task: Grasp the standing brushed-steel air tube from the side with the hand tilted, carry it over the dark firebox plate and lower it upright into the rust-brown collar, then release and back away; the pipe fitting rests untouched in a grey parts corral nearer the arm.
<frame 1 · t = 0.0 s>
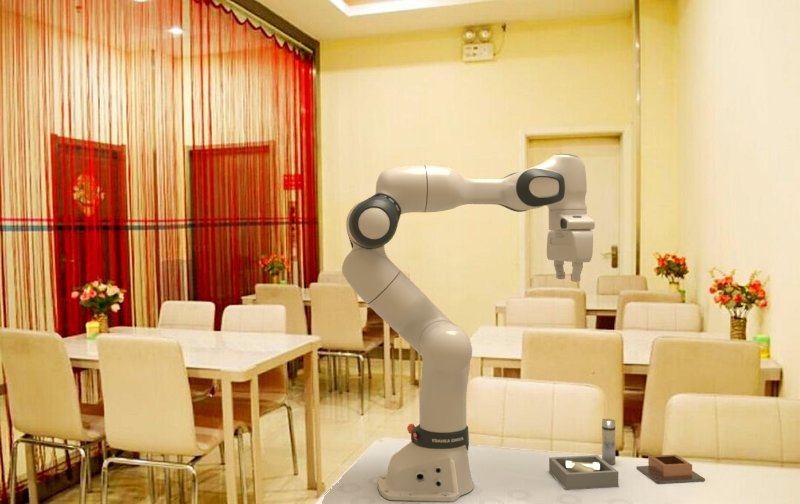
hand: (567, 280, 152), 48 cm above the table, tool pointing down, fingers open, 8 cm apart
pipe fitting: (582, 480, 152), on the table
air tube: (608, 462, 163), on the table
parts corral: (582, 478, 152), on the table
collar: (669, 474, 154), on the table
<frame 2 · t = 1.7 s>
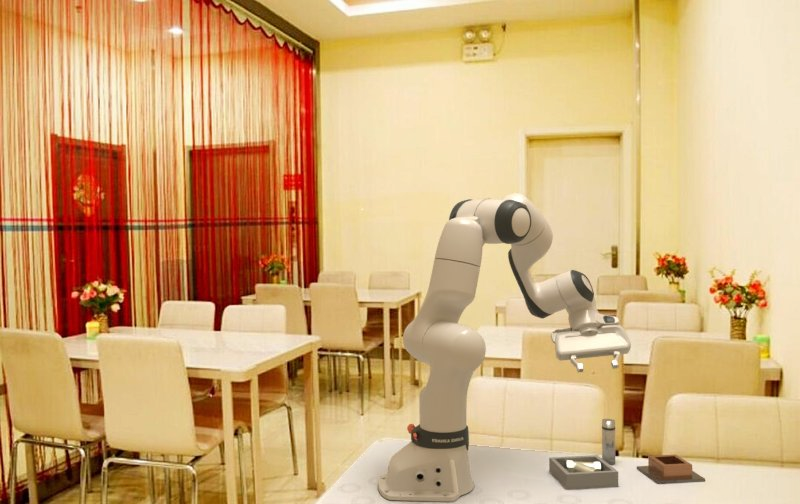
hand: (598, 369, 171), 22 cm above the table, tool tilted 40°, fingers open, 8 cm apart
nothing on the table moved.
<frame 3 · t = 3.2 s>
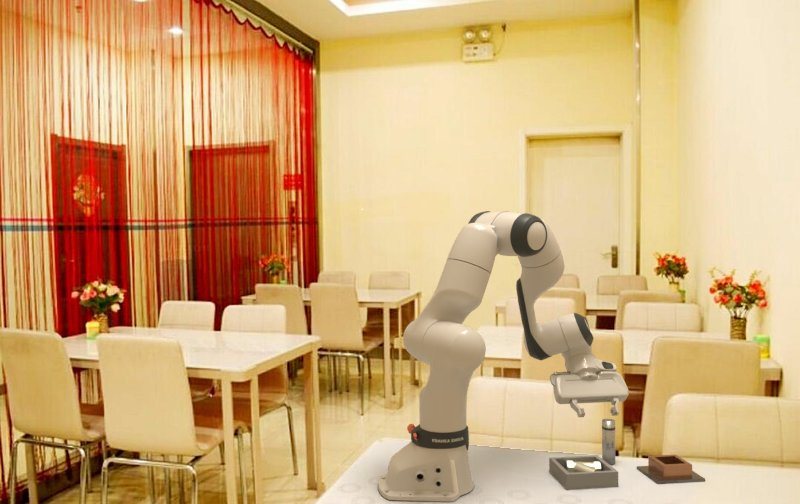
hand: (598, 415, 169), 11 cm above the table, tool tilted 45°, fingers open, 8 cm apart
nothing on the table moved.
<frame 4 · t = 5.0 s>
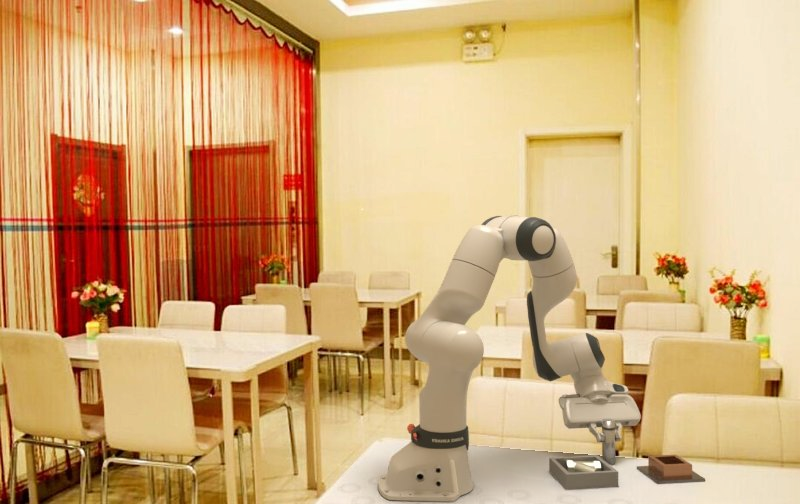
hand: (609, 440, 162), 6 cm above the table, tool tilted 45°, fingers closed on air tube, 3 cm apart
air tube: (608, 462, 163), on the table, touching gripper
everything else where it was.
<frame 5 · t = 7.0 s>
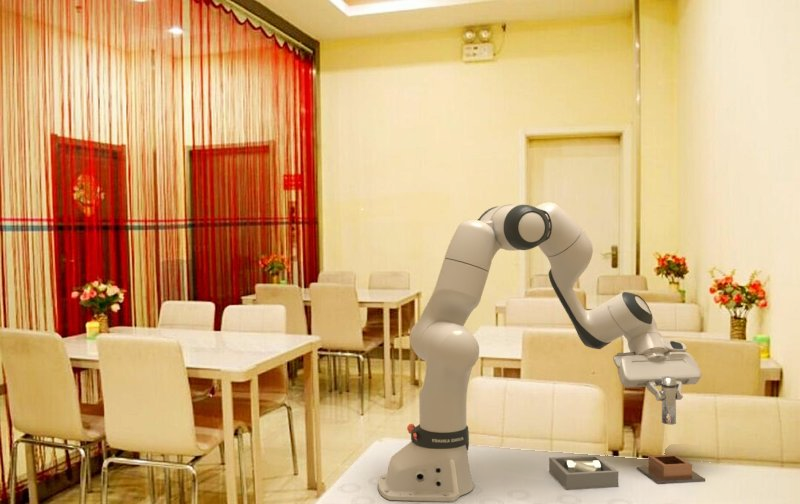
hand: (670, 399, 154), 19 cm above the table, tool tilted 45°, fingers closed on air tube, 3 cm apart
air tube: (668, 422, 154), point 13 cm above the table, touching gripper
when the fingers open (8 cm above the table, at t = 9.3 s): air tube drops 1 cm, resting on collar.
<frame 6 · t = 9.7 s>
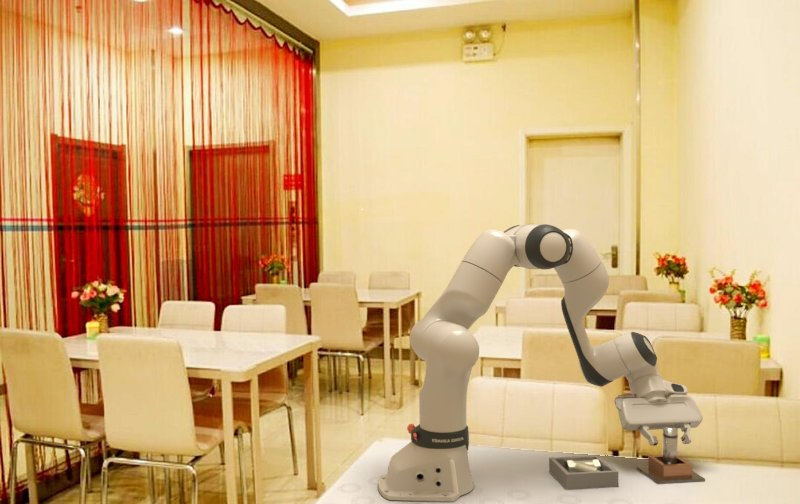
hand: (671, 443, 154), 8 cm above the table, tool tilted 45°, fingers open, 7 cm apart
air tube: (669, 472, 154), point 1 cm above the table, touching collar
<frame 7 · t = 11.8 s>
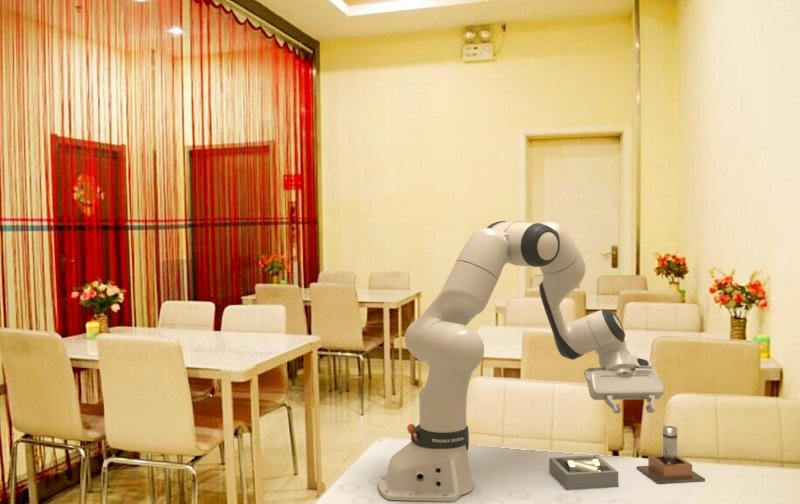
hand: (634, 411, 167), 12 cm above the table, tool tilted 45°, fingers open, 8 cm apart
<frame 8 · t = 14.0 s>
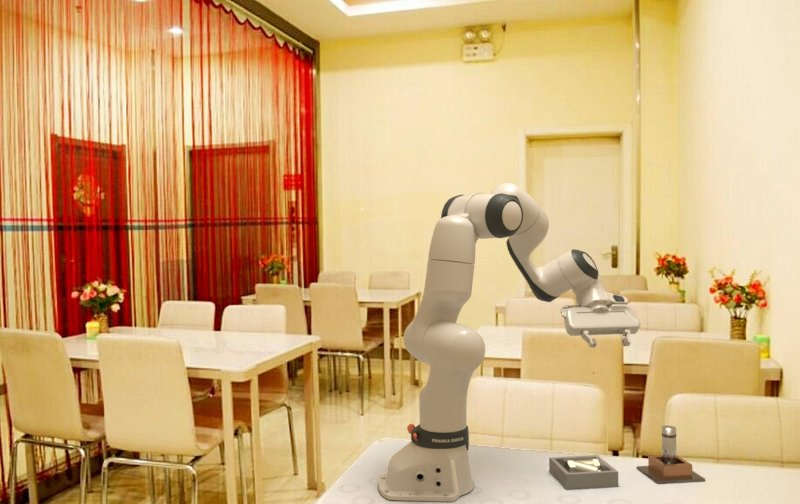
hand: (610, 345, 168), 29 cm above the table, tool tilted 45°, fingers open, 8 cm apart
at the end: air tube 0.1 cm off-centre on the collar, point 0.6 cm above the collar's base; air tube tilted 1°; the gripper is holding nothing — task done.
